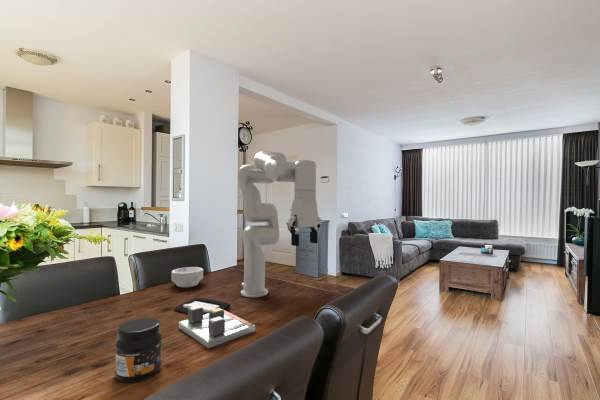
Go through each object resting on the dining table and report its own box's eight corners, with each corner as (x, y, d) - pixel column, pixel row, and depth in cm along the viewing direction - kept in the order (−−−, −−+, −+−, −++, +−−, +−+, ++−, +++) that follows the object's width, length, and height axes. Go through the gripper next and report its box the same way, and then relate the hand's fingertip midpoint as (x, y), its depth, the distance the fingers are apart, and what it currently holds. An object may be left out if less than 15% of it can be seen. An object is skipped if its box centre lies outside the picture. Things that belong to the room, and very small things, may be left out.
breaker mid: (208, 323, 102) (208, 310, 102) (219, 319, 105) (219, 307, 105) (213, 325, 100) (213, 312, 100) (224, 322, 103) (224, 309, 103)
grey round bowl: (181, 280, 164) (181, 265, 164) (208, 281, 162) (208, 267, 162) (164, 288, 149) (165, 272, 149) (194, 290, 147) (194, 273, 147)
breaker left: (187, 320, 104) (188, 307, 104) (198, 317, 107) (198, 305, 107) (191, 322, 102) (192, 310, 102) (203, 319, 105) (203, 307, 105)
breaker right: (208, 333, 94) (208, 319, 94) (219, 329, 97) (219, 315, 97) (213, 336, 92) (213, 322, 92) (224, 332, 95) (225, 318, 95)
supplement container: (111, 388, 70) (111, 336, 70) (117, 365, 80) (118, 320, 80) (161, 378, 74) (161, 329, 74) (162, 357, 84) (162, 314, 84)
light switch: (170, 307, 119) (195, 294, 132) (170, 314, 119) (196, 300, 132) (209, 315, 111) (233, 300, 123) (210, 323, 111) (233, 307, 124)
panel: (178, 327, 104) (178, 321, 104) (222, 314, 116) (223, 309, 116) (208, 348, 89) (208, 340, 89) (254, 331, 102) (255, 324, 102)
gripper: (312, 196, 116) (312, 240, 116) (279, 195, 104) (279, 245, 104) (328, 196, 111) (328, 242, 111) (295, 195, 99) (295, 248, 99)
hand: (304, 244), depth 108 cm, fingers open, 9 cm apart
